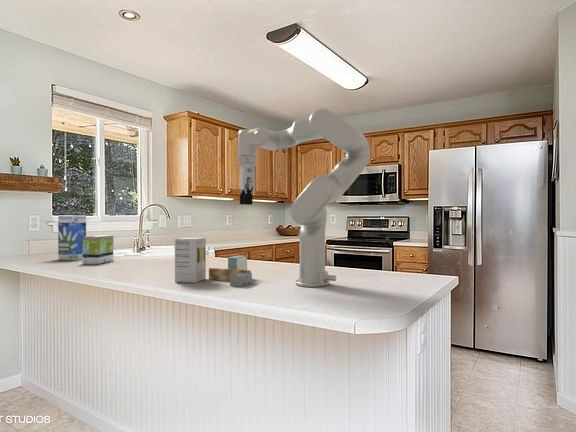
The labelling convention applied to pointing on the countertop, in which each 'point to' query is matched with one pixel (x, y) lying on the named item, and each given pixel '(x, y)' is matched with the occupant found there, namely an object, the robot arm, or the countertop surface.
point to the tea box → (97, 249)
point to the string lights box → (71, 237)
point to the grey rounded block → (240, 279)
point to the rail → (224, 273)
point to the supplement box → (190, 259)
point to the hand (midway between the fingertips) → (245, 204)
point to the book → (237, 262)
